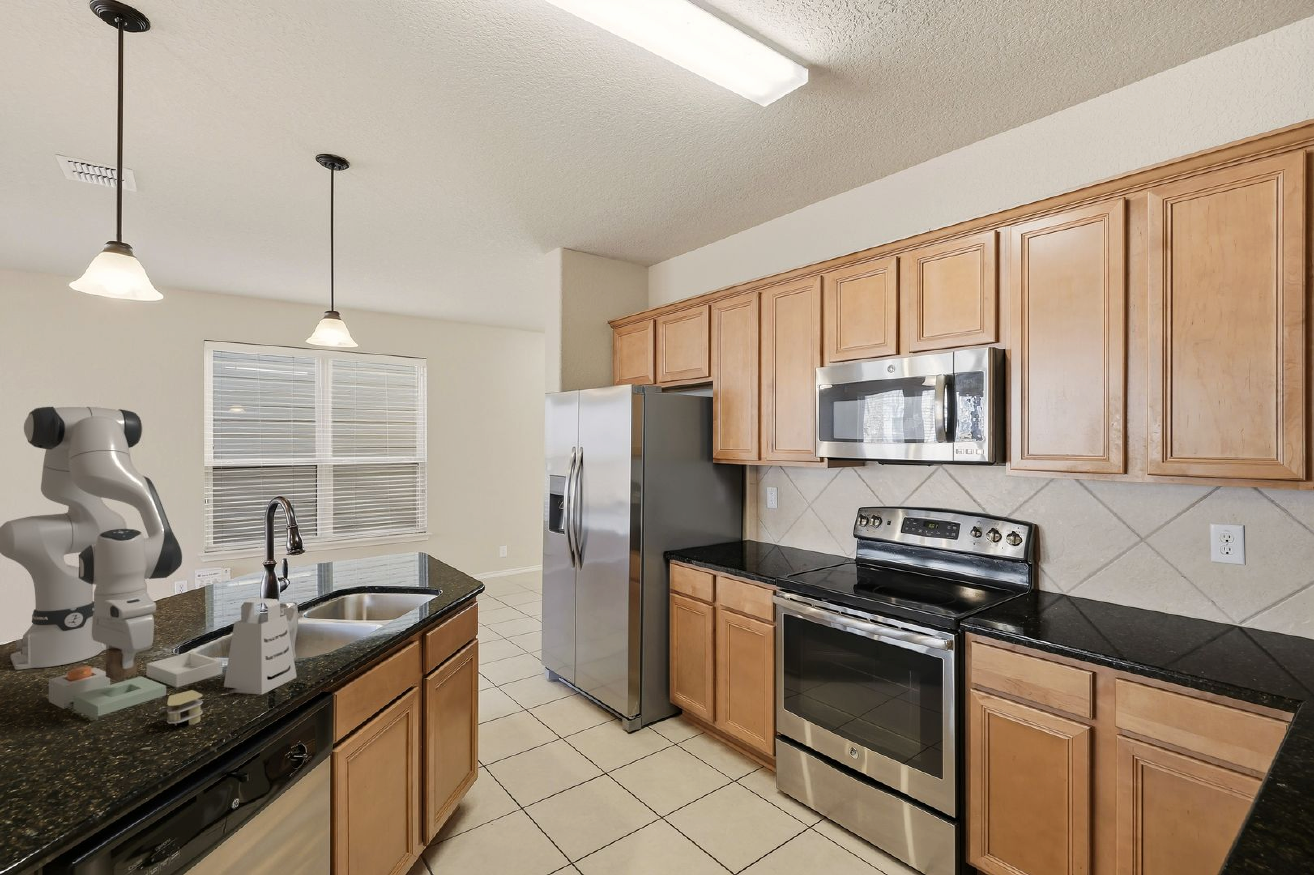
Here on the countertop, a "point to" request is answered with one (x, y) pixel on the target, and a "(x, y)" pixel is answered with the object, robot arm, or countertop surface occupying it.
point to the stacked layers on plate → (184, 707)
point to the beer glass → (290, 622)
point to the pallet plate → (117, 696)
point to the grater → (259, 650)
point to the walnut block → (118, 664)
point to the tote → (184, 669)
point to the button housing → (74, 687)
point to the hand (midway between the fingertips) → (121, 665)
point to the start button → (79, 673)
